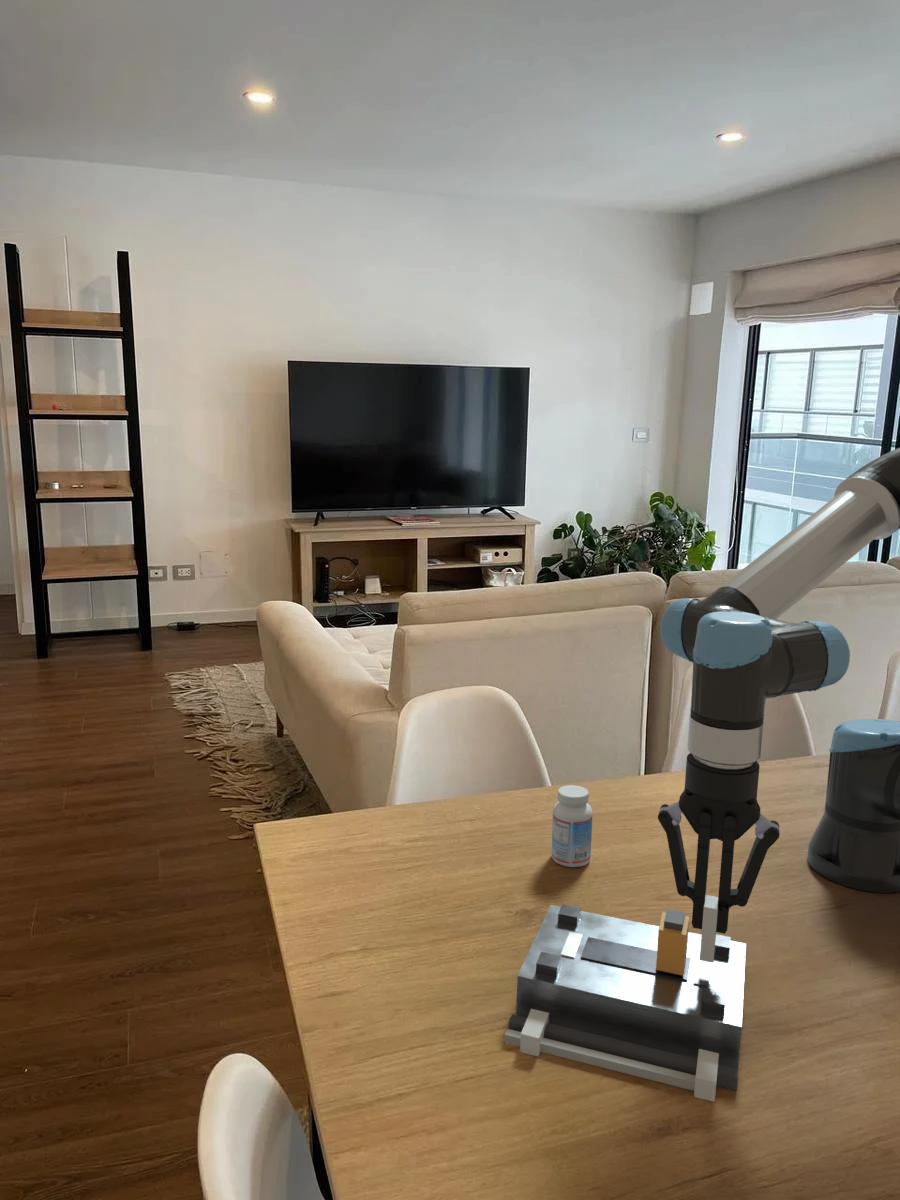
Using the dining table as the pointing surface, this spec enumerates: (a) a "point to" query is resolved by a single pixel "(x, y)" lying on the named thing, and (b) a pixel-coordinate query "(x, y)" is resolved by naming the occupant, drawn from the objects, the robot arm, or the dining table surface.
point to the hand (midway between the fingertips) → (707, 954)
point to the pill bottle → (572, 827)
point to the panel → (633, 985)
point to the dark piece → (621, 1055)
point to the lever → (672, 942)
